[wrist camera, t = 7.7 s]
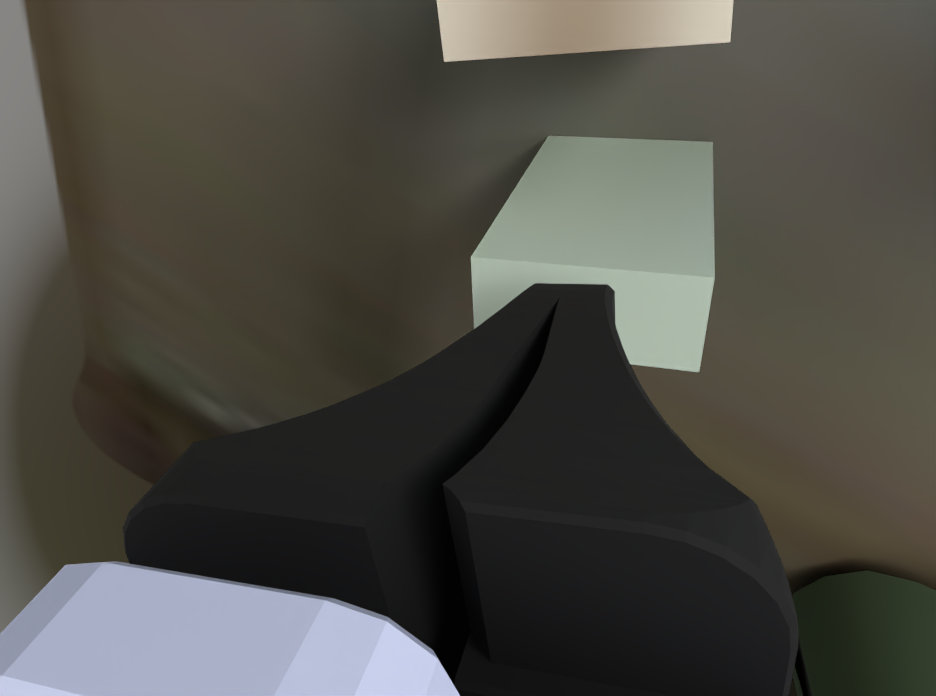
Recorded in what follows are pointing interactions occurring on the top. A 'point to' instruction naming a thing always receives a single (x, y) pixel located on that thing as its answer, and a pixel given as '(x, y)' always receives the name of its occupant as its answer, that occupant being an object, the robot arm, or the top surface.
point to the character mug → (865, 637)
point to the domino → (576, 26)
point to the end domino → (612, 239)
